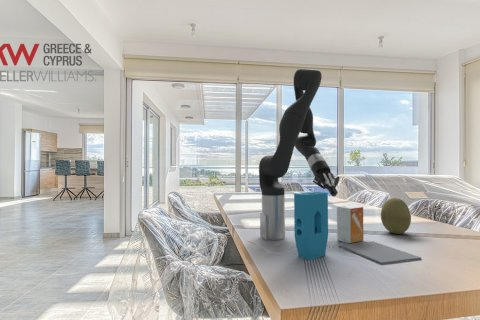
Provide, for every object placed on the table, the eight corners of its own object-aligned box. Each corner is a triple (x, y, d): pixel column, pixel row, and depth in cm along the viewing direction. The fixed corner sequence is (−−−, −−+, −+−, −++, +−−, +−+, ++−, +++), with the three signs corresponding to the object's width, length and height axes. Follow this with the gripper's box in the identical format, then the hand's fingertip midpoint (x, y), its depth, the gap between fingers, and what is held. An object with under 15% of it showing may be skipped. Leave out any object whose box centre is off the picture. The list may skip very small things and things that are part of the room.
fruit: (377, 233, 124) (376, 198, 124) (385, 229, 132) (385, 195, 132) (407, 237, 116) (406, 200, 116) (414, 232, 124) (413, 197, 125)
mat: (381, 264, 85) (381, 262, 85) (338, 246, 104) (338, 244, 104) (421, 259, 89) (421, 257, 89) (373, 243, 108) (373, 241, 108)
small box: (350, 243, 108) (350, 208, 108) (336, 240, 113) (336, 206, 113) (364, 240, 112) (363, 206, 112) (349, 237, 117) (349, 204, 118)
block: (306, 261, 88) (305, 195, 89) (293, 257, 92) (292, 193, 93) (329, 253, 96) (328, 192, 96) (317, 250, 100) (316, 191, 100)
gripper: (308, 159, 129) (324, 189, 117) (334, 159, 133) (352, 188, 121) (302, 171, 134) (317, 201, 122) (327, 171, 138) (344, 199, 126)
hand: (335, 194), depth 122 cm, fingers closed
